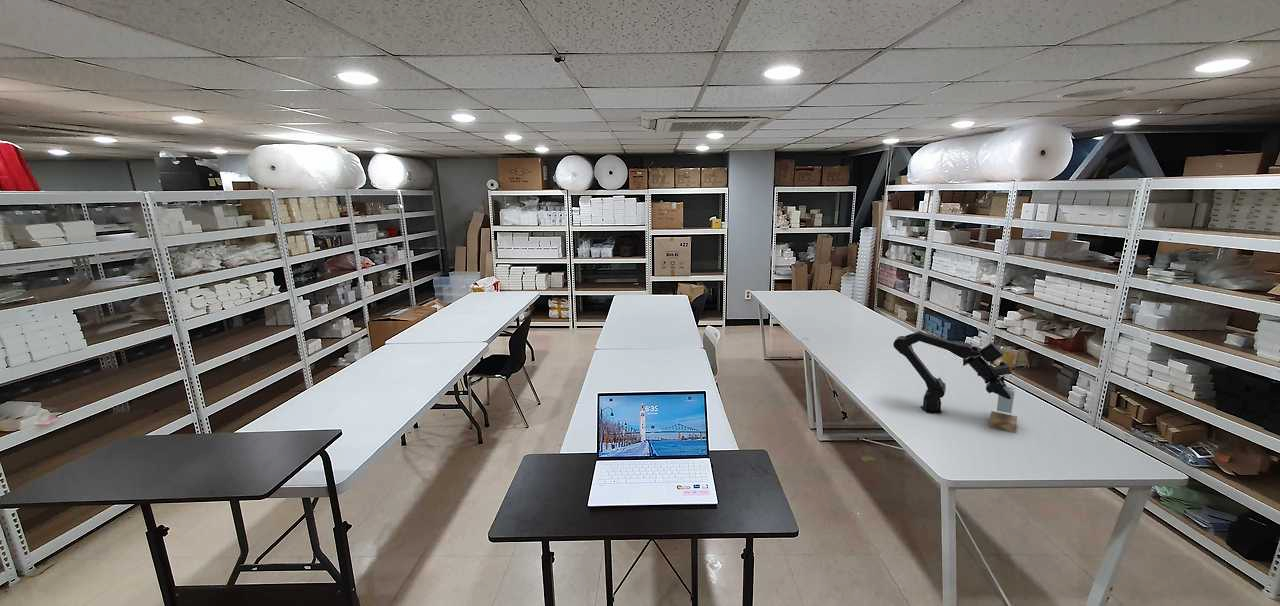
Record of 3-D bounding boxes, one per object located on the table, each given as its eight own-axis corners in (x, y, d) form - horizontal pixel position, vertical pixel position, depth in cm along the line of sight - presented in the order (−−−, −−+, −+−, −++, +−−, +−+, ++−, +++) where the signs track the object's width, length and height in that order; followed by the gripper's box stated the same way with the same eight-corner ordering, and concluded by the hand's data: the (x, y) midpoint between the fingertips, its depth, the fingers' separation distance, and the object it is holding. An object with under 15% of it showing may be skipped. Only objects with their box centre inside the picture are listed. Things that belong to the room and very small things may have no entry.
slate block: (996, 410, 204) (999, 389, 202) (997, 406, 208) (1000, 385, 206) (1011, 413, 201) (1014, 391, 199) (1011, 409, 205) (1014, 387, 203)
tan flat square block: (988, 426, 204) (989, 418, 204) (990, 419, 211) (991, 411, 210) (1014, 432, 199) (1015, 424, 198) (1016, 424, 205) (1017, 416, 204)
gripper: (999, 364, 195) (1029, 394, 191) (1000, 351, 209) (1028, 380, 205) (973, 378, 201) (1002, 408, 197) (976, 365, 216) (1003, 392, 211)
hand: (1010, 396), depth 202 cm, fingers closed on slate block, 5 cm apart
